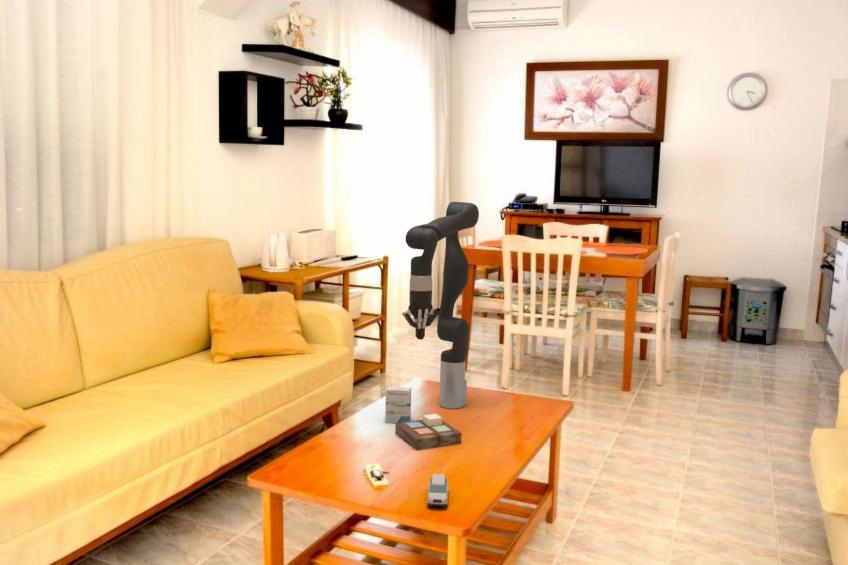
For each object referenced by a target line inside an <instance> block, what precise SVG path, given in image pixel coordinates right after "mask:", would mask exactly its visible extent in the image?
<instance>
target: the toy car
mask: <svg viewBox="0 0 848 565" xmlns="http://www.w3.org/2000/svg"><path fill="white" fill-rule="evenodd" d="M426 492H427V500H426V501H427V502H426V506H427V507H432V506H433V507H434V506H436V507H443V508H448V499H449V498H448V496H449V492H450V491H449V485H448V478H447V476H446V475H445V474H442V473H441V474H440V473H438V474H437V473H433V474H432V475H431V477H430V479H429V483H428V488H427V489H426Z"/></svg>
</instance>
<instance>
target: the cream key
mask: <svg viewBox="0 0 848 565" xmlns="http://www.w3.org/2000/svg"><path fill="white" fill-rule="evenodd" d="M422 420H423V423H424V424H426V425H427V426H429V427H432V426H439V425H442V420H443V417H441V416H440V415H439V414H437V413H431V414H430V413H429V414H424V415H422Z"/></svg>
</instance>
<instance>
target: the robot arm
mask: <svg viewBox="0 0 848 565" xmlns="http://www.w3.org/2000/svg"><path fill="white" fill-rule="evenodd" d="M479 219H480V211H479V207H478V206H477V204H475V203H473V202H463V201H450V202H449V203H448V206H447V207H446V211H445V216H440V217H438V218H436V219H433V220H431V221H430V222H428V223H425V224H424V223H423V224H419V225H415V226H413V227H411V228H410V229H408V230H407V232H406V234H405V243H406V245H407V246H408V247H409V248H410V249H413V250H423V252H422V254H421V255H418V256H413V257H412V258H411V260H410V277H409V305H408V309H407V310H406V311H403V312H402V317H404V319H405V321H406V322H407V323H408V324H409V325H410V327H413V328H415V338H416V339H417V340H424V338H425V336H426V328H427V327H430V326H431V325H432V323H433V322H434V321H435V319H436V318H437V317H438V318H437V324H436V325H437V326H436V333H437V337H438V338H439V340H441V341H444V342H450V343H452V345H451V346H452V347H451V349H446V350H443V351H442V352H441V353H440V365H439V368H440V370H439V396H438V397H439V399H438V402H439V403H438V405H439V406H440V407H442V408H445V409H459V408H463V407H466V406H467V391H468V390H467V389H468V381H467V380H466V359H467V353H468V349H469V348H468V347H469V346H468V345H469V338H470V325H469V323H468V321H467V319H465V318H461V317H455V316H454V309H455V306H456V305H455V304H456V302H457V300H458V298H459V297H460V295H461V294H462V293H463V291H464V290H465V288H466V287H467V285H468V282H469V271H470V270H469V269H470V263H469V260H468V258H467V255H466V254H465V252H464V249H463V247H462V246H461V243H460V239H459V232H460V231H463V230H468V229H471V228H474V227H475V226H476V225H477V223H478V221H479ZM443 239H445V248H444V249H445V250H444V261H443V271H442V290H441V298H440V299H441V300H440V306H439V311H438V310H436V309H434V308H433V303H432V302H433V275H432V274H433V261H434V256H435V252H436V250H437V246H438V242H439V241H441V240H443ZM412 317H413V318H412Z"/></svg>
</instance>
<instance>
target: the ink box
mask: <svg viewBox="0 0 848 565" xmlns="http://www.w3.org/2000/svg"><path fill="white" fill-rule="evenodd" d="M384 409H385V410H384V412H385V413H384V414H385V416H384V417H385V418H384V422H385V423H386V424H396V423H403V422H410V421H412V420H411V418H412V416H411V414H412V387H402V386H387V388H386V389H385V407H384Z"/></svg>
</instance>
